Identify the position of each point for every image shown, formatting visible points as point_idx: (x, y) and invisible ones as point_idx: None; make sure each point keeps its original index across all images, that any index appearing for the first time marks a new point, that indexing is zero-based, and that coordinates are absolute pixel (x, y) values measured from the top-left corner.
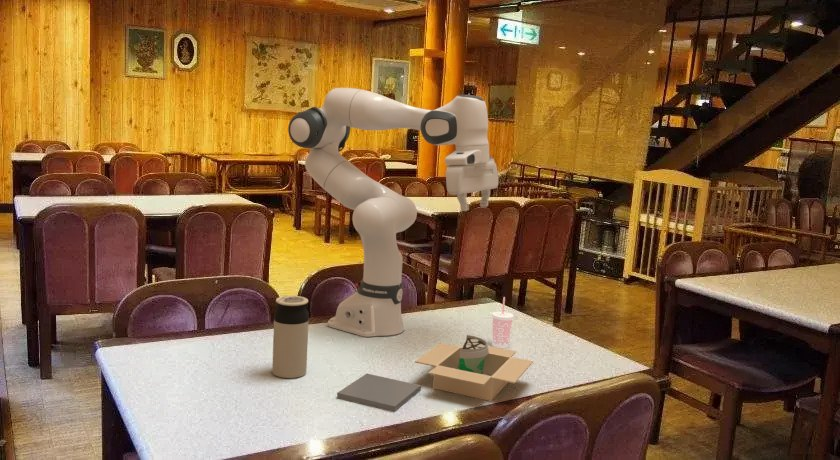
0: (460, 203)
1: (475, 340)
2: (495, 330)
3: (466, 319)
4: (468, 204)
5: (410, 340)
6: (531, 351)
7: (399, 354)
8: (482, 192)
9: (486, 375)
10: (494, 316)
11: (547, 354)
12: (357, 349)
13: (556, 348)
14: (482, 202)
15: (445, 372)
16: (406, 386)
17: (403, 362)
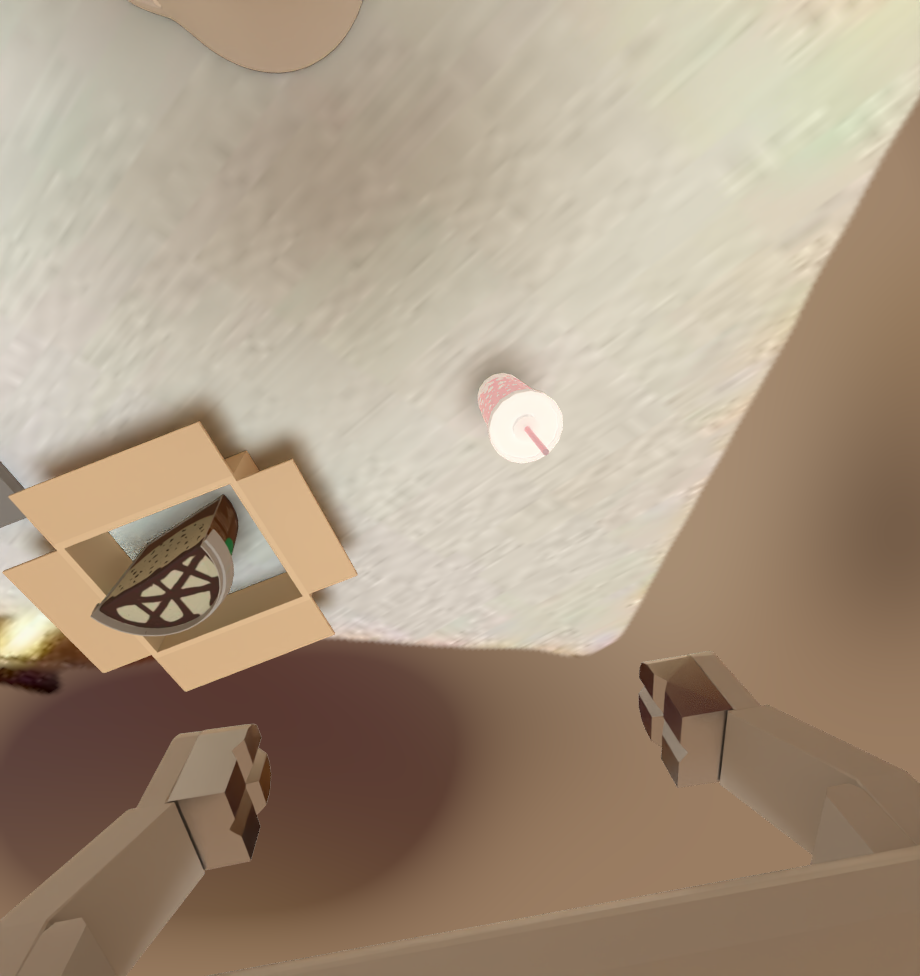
0: (123, 826)
1: (212, 569)
2: (484, 410)
3: (664, 117)
4: (241, 851)
5: (281, 168)
6: (525, 475)
7: (146, 262)
8: (832, 827)
9: (148, 644)
10: (490, 420)
11: (536, 510)
12: (8, 107)
13: (596, 494)
14: (671, 724)
15: (52, 591)
16: None
17: (115, 329)
